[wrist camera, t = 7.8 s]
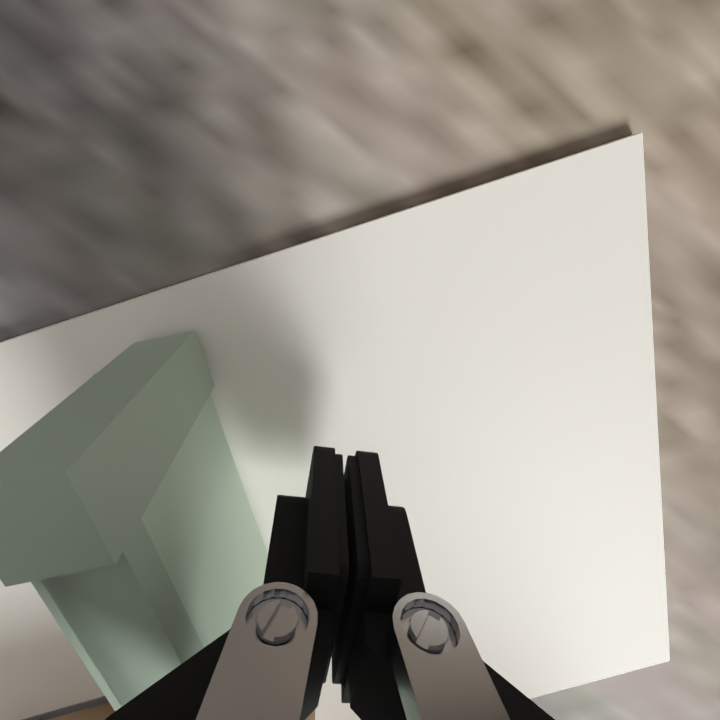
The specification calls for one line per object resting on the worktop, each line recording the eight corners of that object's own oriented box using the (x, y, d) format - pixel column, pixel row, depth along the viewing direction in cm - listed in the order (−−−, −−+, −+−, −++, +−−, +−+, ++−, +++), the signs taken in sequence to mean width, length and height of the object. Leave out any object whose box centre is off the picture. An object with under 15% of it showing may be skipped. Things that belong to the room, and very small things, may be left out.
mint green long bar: (304, 640, 16) (293, 893, 10) (260, 650, 16) (224, 907, 10) (195, 330, 11) (65, 472, 6) (134, 342, 11) (-57, 497, 6)
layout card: (81, 813, 19) (77, 824, 19) (-309, 443, 12) (-328, 450, 12) (664, 653, 18) (670, 662, 18) (634, 133, 11) (644, 132, 10)
